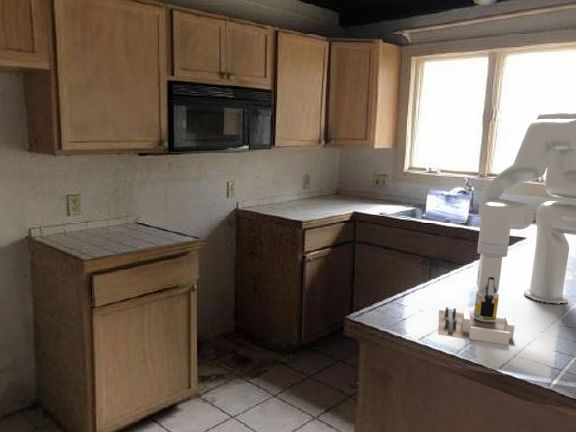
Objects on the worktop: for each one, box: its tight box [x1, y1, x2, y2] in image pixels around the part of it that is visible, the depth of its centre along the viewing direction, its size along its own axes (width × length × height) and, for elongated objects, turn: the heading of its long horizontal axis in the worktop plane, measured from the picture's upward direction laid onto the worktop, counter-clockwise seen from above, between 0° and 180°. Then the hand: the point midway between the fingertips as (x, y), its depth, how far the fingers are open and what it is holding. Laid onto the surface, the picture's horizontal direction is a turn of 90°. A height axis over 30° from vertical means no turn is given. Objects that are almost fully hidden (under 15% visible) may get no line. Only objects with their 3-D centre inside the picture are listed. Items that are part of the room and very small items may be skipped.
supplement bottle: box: [473, 289, 500, 322], centre depth 138 cm, size 6×6×10 cm
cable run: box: [444, 306, 457, 334], centre depth 135 cm, size 16×3×2 cm, turn 163°
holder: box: [462, 310, 515, 346], centre depth 128 cm, size 10×12×4 cm
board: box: [437, 309, 516, 347], centre depth 134 cm, size 19×18×1 cm
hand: (485, 311), depth 138 cm, fingers closed on supplement bottle, 5 cm apart
